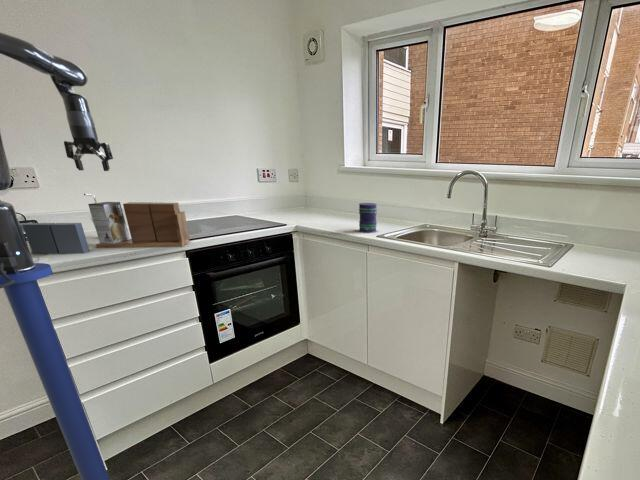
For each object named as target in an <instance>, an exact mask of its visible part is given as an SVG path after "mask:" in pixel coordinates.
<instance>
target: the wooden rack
mask: <svg viewBox="0 0 640 480" xmlns="http://www.w3.org/2000/svg"><path fill="white" fill-rule="evenodd" d="M174 219H175V224H176V229H177V234H178V239H179V242H158V241H157V242H132V239H131V238H130V239H129V240H125V241H122V242H118V243H115V244H108V243H100V242H98V243H95V247H96V248H98V249H99V248H102V249H103V248H105V249H106V248H147V247H149V248H153V247H155V248H157V247H183V246H185V245H187V244H188V243H189V242H190V234H189V233H190V232H189V229H188V227H189V226H188V222H187V218H186V212H185V211H184V210H183V211H181V210H180V212H179V213H176V214H174Z"/></svg>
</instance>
